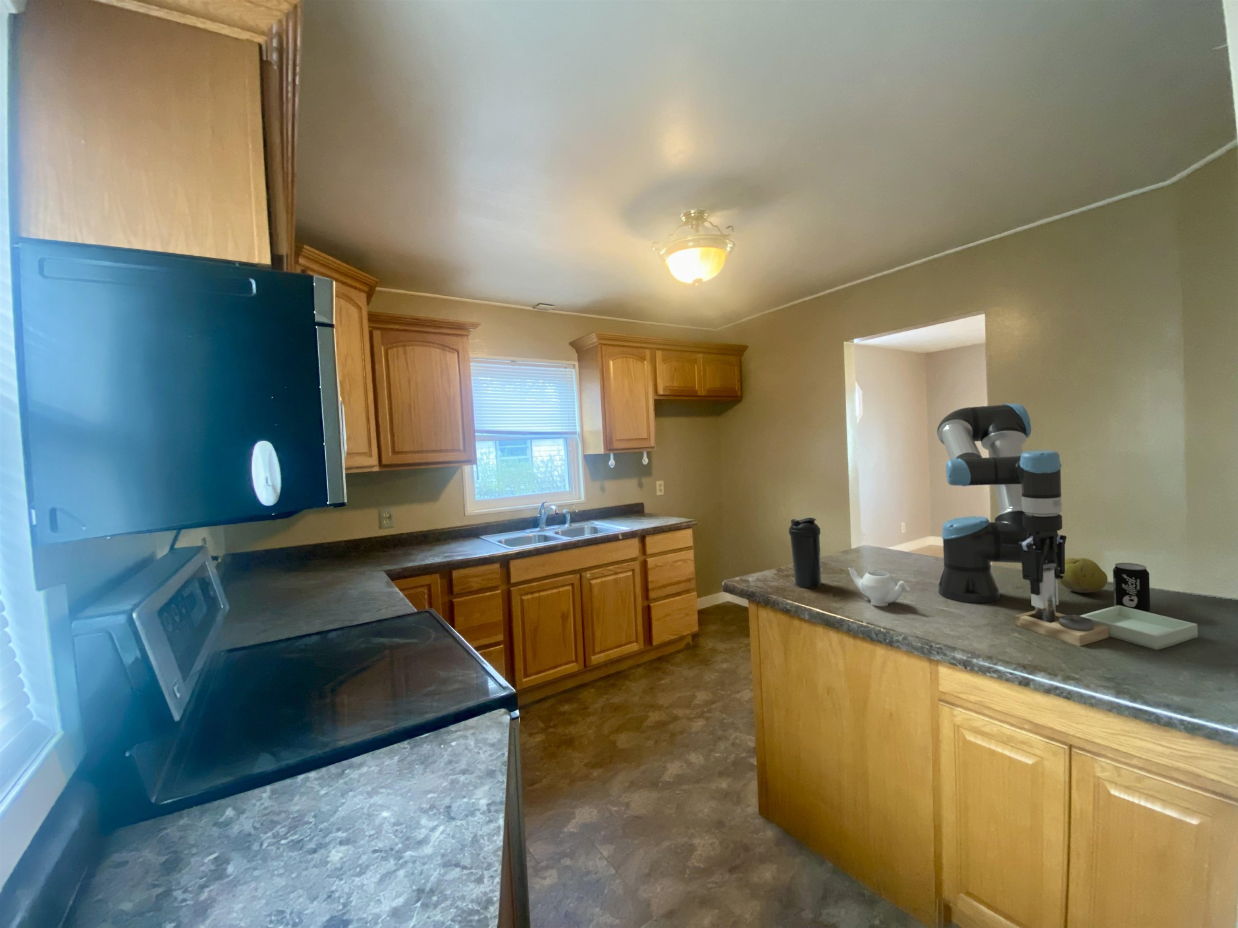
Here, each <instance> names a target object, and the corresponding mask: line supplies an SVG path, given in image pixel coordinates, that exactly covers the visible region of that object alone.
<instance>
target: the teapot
mask: <svg viewBox="0 0 1238 928" xmlns="http://www.w3.org/2000/svg"><path fill="white" fill-rule="evenodd" d="M847 570H848V571H849V574H850V576H851V578H852V580H853V582H854V584H855V586H856V588H857V589H858V590H859V591H860V593H862V594H863V595H865V597H866V596H867V597H868V599H869V600H870V605H872V606H875V607H887V606H888V605H889V604H891V603H894V602H896V601H897V600H899V599H900V598H901V596H902V594H903V590H904V588H905V589H906V591H909V592H912V589H911V587H909V586H908V585H907V583H906V582H905V581H903V580H900V581H899V582H898V584H897V581H896V579H895V578H894V577H893V576H892V574H890V573H889V572H887V571H883V570H871V571H868V572H866V573H865V574H864V575H863V577H861V576H859V574H858V573H857V570H856V569H855V567H853V566H849V567H848V569H847Z"/></svg>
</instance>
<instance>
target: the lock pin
mask: <svg viewBox="0 0 1238 928" xmlns="http://www.w3.org/2000/svg"><path fill="white" fill-rule="evenodd" d="M1055 568H1056V563H1055V562H1050V561H1045V560H1044V565H1043V574H1042V582H1045V608H1044V609H1043V608H1039V607H1036V606H1034V611H1035V619H1039V620H1042V621H1045V622H1049V623H1053V622H1056V613H1057V611H1056V609H1057V608H1056V606H1057V605H1055V576H1054V569H1055Z"/></svg>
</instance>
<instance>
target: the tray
mask: <svg viewBox="0 0 1238 928" xmlns="http://www.w3.org/2000/svg"><path fill="white" fill-rule="evenodd" d="M1079 616H1080V617H1085V618H1088V619H1090V620H1092V621H1093V623H1096V624H1100V625H1103V626H1107V627H1108V630H1109V637H1111V638H1114V639H1118V640H1120V641H1125V642H1128V643H1132V644H1135V645H1137V646H1142V647H1145V648H1148V649H1152V650H1155V651H1159V650H1162V649H1165V648H1168V647H1172V646H1175V645H1178V644H1181V643H1184V642H1187V641H1190V640H1194V639H1197V638H1198V637H1199V634H1198V633H1199V632H1198V623H1194V622H1191V621H1190V622H1189V621H1185V620H1181V619H1177V618H1173V617H1170V616H1165V615H1161V614H1157V613H1152V612H1150V611H1149V612H1145V611H1141V610H1136V609H1132V608H1128V607H1124V606H1120V605H1117V606H1114V605H1113V606H1111V607H1107V608H1103V609H1099V610H1096V611H1095V610H1094V611H1091V612H1088V613H1084V614H1081V615H1079Z"/></svg>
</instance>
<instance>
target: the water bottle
mask: <svg viewBox="0 0 1238 928" xmlns="http://www.w3.org/2000/svg"><path fill="white" fill-rule="evenodd" d="M815 521H817V519H816V518H815V517H806V518H802V519H799V520H798V519H796V518H793V519H791V520H790V523H791V524H790V526H789V527H788V534H789V536H790V547H791V556H792V564H793V577H794V584H795V586H796V587H799V588H803V589H816V588H820V587H821V586H822V580H821V579H822V576H821V573H822V571H821V570H822V568H821V564H822V563H821V547H820V546H821V545H820V544H821V543H820V542H821V541H820V536H821V527H819V525H818V524H817V523H816V522H815Z"/></svg>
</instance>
